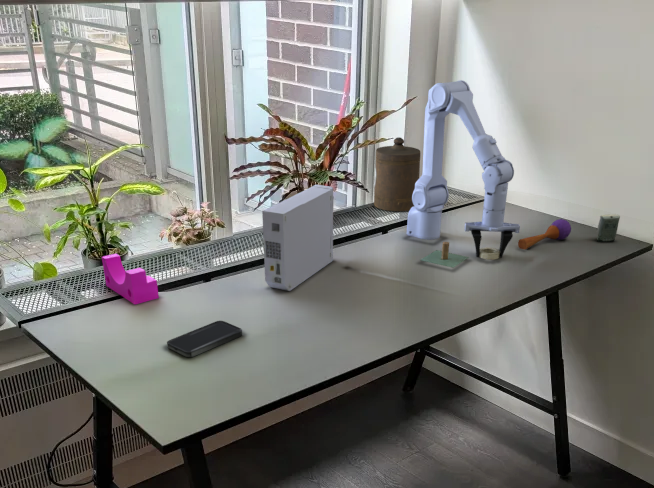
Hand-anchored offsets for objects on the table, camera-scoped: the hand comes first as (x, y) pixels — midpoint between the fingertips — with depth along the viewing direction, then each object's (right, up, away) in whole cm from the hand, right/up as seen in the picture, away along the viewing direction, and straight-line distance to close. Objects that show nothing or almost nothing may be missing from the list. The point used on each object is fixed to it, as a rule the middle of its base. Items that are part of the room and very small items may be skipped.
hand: (488, 256), depth 201 cm
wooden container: (-23, +25, +45) cm, 56 cm away
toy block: (-91, -13, -24) cm, 95 cm away
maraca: (+19, +6, +13) cm, 23 cm away
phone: (-69, -26, -46) cm, 87 cm away
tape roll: (0, -1, 0) cm, 1 cm away
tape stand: (-12, -2, -2) cm, 13 cm away
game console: (-51, -7, -12) cm, 52 cm away
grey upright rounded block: (+37, +7, +16) cm, 41 cm away
